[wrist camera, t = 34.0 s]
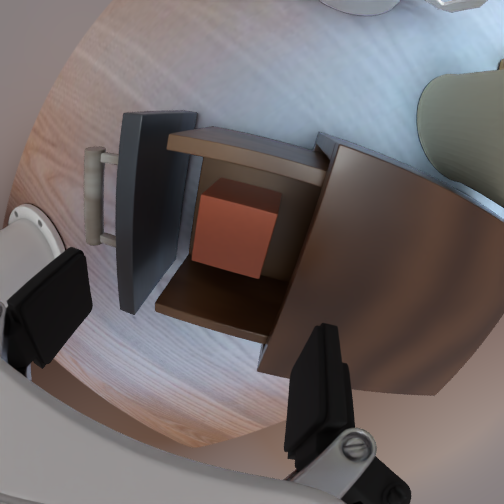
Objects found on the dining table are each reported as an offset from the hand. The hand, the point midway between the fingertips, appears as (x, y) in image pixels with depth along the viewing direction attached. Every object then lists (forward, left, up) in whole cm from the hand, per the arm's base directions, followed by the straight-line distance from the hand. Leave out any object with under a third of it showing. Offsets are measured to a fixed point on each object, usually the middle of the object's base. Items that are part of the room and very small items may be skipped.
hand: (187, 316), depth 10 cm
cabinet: (+11, 0, -13) cm, 18 cm away
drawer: (-2, 0, -12) cm, 13 cm away
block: (0, 0, -11) cm, 11 cm away
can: (+15, +12, -14) cm, 24 cm away
